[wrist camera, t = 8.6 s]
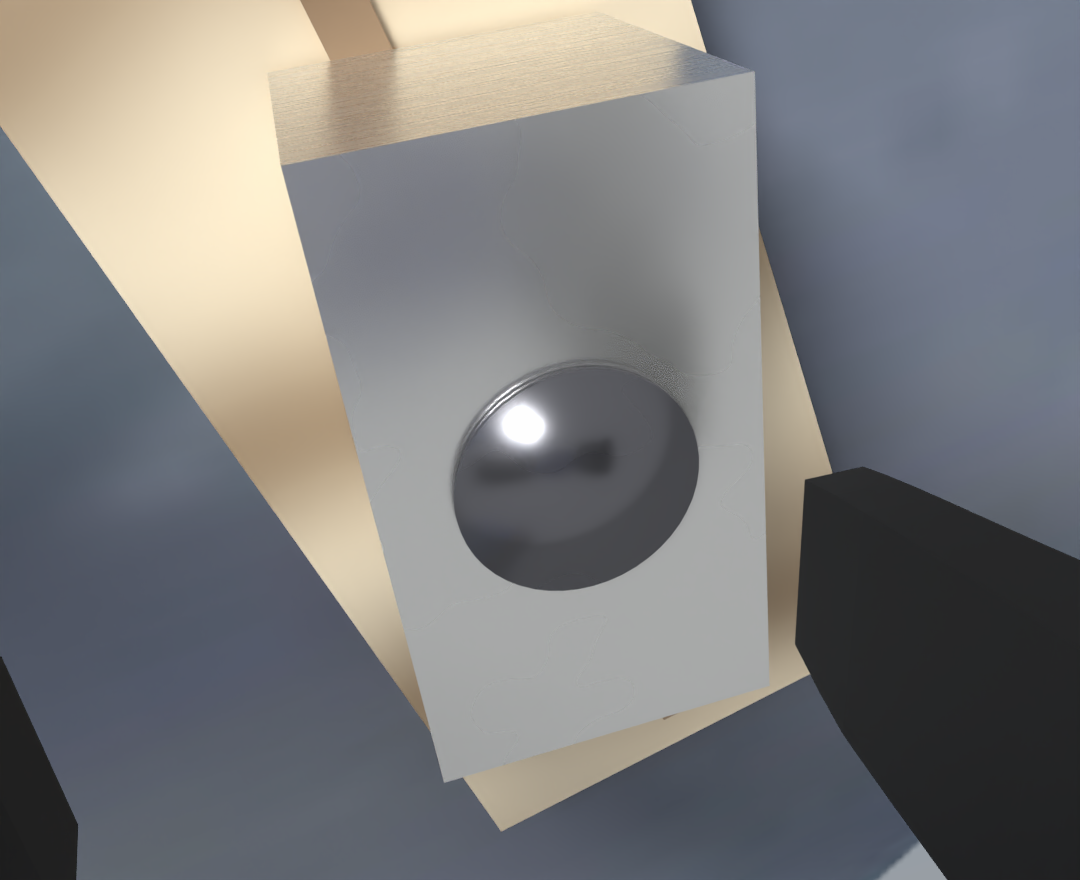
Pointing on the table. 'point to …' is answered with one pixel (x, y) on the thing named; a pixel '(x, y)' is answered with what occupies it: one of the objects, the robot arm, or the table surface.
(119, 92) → the stand
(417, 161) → the housing
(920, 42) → the table surface
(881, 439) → the table surface
